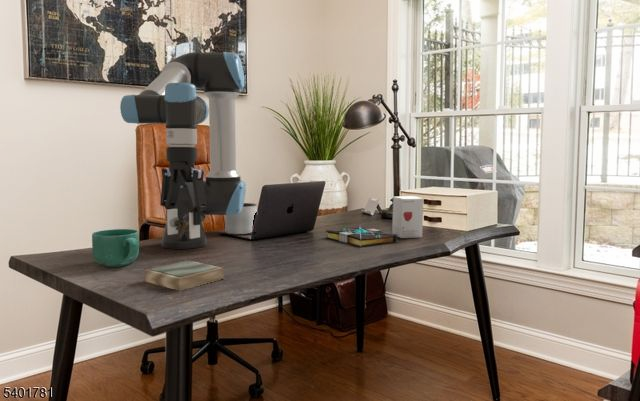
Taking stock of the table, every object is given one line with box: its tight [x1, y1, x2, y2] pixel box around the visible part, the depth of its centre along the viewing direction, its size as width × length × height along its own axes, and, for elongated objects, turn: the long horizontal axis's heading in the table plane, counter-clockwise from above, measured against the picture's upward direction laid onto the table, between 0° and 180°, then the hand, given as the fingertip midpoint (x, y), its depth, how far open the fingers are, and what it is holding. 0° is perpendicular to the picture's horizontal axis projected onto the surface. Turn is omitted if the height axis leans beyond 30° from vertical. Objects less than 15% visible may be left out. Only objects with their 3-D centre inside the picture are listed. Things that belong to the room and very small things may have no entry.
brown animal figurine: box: [169, 211, 207, 238], centre depth 138 cm, size 8×7×9 cm
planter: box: [224, 202, 258, 235], centre depth 209 cm, size 12×13×11 cm
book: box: [325, 226, 399, 248], centre depth 195 cm, size 22×17×5 cm
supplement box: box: [391, 195, 424, 239], centre depth 204 cm, size 9×9×15 cm
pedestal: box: [144, 260, 225, 292], centre depth 137 cm, size 14×14×3 cm
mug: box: [91, 228, 140, 268], centre depth 153 cm, size 17×13×10 cm
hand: (183, 235), depth 136 cm, fingers closed on brown animal figurine, 8 cm apart
